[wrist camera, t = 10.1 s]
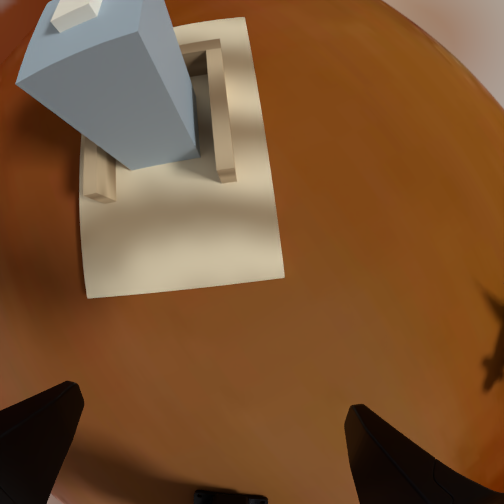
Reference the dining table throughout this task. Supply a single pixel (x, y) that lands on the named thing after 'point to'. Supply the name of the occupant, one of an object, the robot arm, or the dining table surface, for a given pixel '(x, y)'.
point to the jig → (188, 188)
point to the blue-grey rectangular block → (115, 78)
